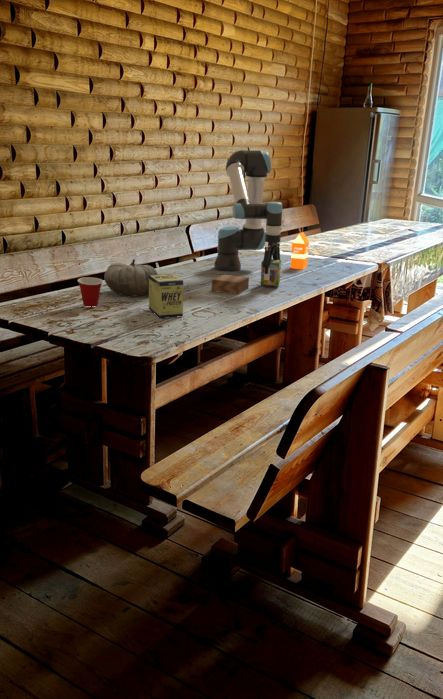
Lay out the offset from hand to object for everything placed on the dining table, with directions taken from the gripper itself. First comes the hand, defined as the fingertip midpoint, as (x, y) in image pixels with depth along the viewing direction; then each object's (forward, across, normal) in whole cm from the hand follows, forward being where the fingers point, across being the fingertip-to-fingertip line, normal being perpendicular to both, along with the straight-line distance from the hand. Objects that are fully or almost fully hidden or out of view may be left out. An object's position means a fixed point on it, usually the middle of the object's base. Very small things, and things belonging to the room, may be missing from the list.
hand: (270, 277), depth 343 cm
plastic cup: (+4, -81, +51) cm, 96 cm away
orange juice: (+5, +55, +5) cm, 55 cm away
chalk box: (+3, 0, 0) cm, 3 cm away
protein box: (+4, -73, +18) cm, 76 cm away
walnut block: (+5, -18, +14) cm, 23 cm away
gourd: (+4, -52, +50) cm, 72 cm away
